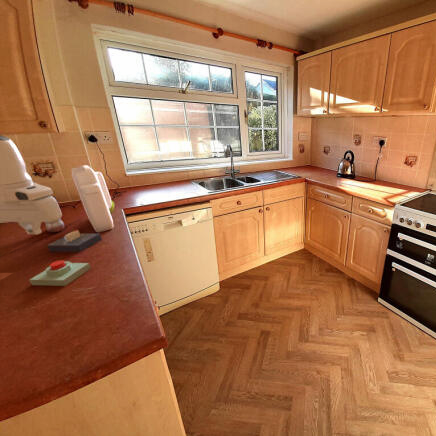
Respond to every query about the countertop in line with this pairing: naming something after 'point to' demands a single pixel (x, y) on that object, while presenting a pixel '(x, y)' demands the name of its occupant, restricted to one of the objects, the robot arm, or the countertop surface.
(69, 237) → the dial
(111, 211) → the fruit
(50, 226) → the plastic bottle
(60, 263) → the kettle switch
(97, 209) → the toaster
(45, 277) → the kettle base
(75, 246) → the dial panel
